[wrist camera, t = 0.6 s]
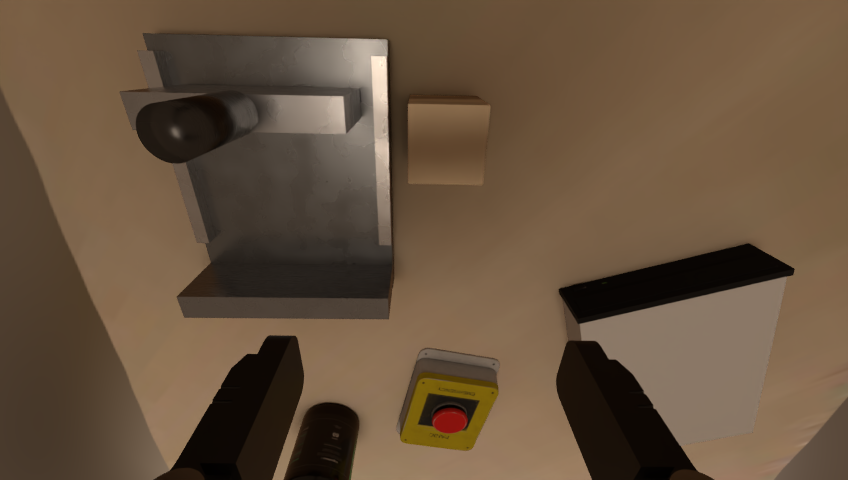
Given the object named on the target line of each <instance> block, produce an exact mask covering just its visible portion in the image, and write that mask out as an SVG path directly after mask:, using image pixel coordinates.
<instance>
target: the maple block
mask: <svg viewBox="0 0 848 480" xmlns="http://www.w3.org/2000/svg"><path fill="white" fill-rule="evenodd" d="M490 110H491V105H489V104H488V103H486V102H485V101H483V100H482V99H480V98H479V97H477V96H450V95H410V98H409V102H408V184H450V185H483V178H484V168H485V159H486V149H487V139H488V129H489V120H490Z"/></svg>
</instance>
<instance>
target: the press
mask: <svg viewBox="0 0 848 480" xmlns="http://www.w3.org/2000/svg"><path fill="white" fill-rule="evenodd" d="M143 36H144V40H145V43H146V46H147V50H148V51H143V50H137V52H138V55H139V58H140V61H141V64H142V68H143V71H144V74H145V77H146V80H147V84H148V87H149V88H156V87H165V86H174V85H182V84H198V85H243V86H288V87H332V88H360V105H361V119H360V120H359V121H358V122H357V123H356V124H355V125H354V126H353V127H352V128H351V129H350V130H349V131H348V133H347V134H317V133H266V132H251V133H250V134H248V135H246V136H243V137H241V138H239V139H237V140H234V141H232V142H230V143H228V144H225V145H223V146H221V147H219V148H216V149H214V150H212V151H210V152H208V153H205V154H203V155H201V156H199V157H196V158H194V159H192V160H190V161H187V162H185V163H180V164H175V163H172V164H173V167H174V170H175V174H176V177H177V180H178V183H179V187H180V190H181V193H182V196H183V199H184V203H185V206H186V209H187V212H188V215H189V219H190V222H191V225H192V228H193V231H194V235H195V238H196V241H197V243H205V244H206V247H207V250H208V254H209V257H210V260H211V263H210V264H209V265H208V266H207V267H206V268H205V269H204V270H203V271H202V272H201V273H200V274H199V275H198V276H197V277H196V278H195V279H194V280H193V281H192V282H191V283H190V284H189V285H188V286H187V287H186V288H185V289H184V290H183V291H182V292H181V293H180V294H179V295H178V296H177V299H178V302H179V305H180V307H181V310H182V313H183V315H184V318H304V319H389V313H390V304H391V296H392V288H393V284H394V253H393V206H392V158H391V111H390V63H389V40H386V39H347V38H307V37H268V36H229V35H189V34H150V33H143Z"/></svg>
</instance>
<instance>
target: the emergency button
mask: <svg viewBox="0 0 848 480" xmlns="http://www.w3.org/2000/svg"><path fill="white" fill-rule="evenodd" d="M499 366H500V363H499V361H498V360H497V359H494V358H489V357H482V356H476V355H470V354H464V353H458V352H452V351H446V350H440V349H433V348H424V349H422V350H421V351H420V353H419V354H418V358H417V361H416V364H415V368H414V371H413V374H412V377H411V381H410V384H409V387H408V391H407V394H406V397H405V401H404V404H403V407H402V411H401V414H400V417H399V421H398V424H397V432H398V433H399V434H400V439H401V441H402V442H403V443H407V444H415V445H423V446H430V447H438V448H446V449H454V450H462V451H468V450H471V449H472V448H473V446H474V444H475V442H476V440H477V438H478V436H479V434H480V432H481V429H482V427H483V425H484V423H485V421H486V419H487V417H488V415H489V413H490V411H491V409H492V406H493V404H494V402H495V400H496V398H497V396H498V385H497V377H496V374H497V372H498V369H499Z"/></svg>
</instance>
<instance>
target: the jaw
mask: <svg viewBox="0 0 848 480" xmlns="http://www.w3.org/2000/svg"><path fill="white" fill-rule="evenodd" d="M120 95H121V98H122V101H123V104H124V106H125V109H126V112H127V115H128V118H129V121H130V124H131V127H132V129H133V130H136V131H137V134H138V137H139V139H140V141H141V142H142V144H143V145H144V146H145V148H146V149H147V150H148V151H149V152H150V153H152V154H153V155H154V156H156V157H157V158H159V159H161V160H163V161H165V162H169V163H175V164H180V163H185V162H187V161H190V160H192V159H194V158H196V157H199V156H201V155H203V154H205V153H208V152H210V151H212V150H214V149H216V148H219V147H221V146H223V145H225V144H228V143H230V142H232V141H234V140H237V139H239V138H241V137H243V136H246V135H248V134H250V133H251V132H266V133H317V134H347V133H348V131H349V130H350V129H351V128H352V127H353V126H354V125H355V124H356V123H357V122H358V121H359V120H360V119H361V105H360V88H332V87H288V86H243V85H198V84H182V85H174V86H165V87H156V88H147V89H138V90H129V91H120Z"/></svg>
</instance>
